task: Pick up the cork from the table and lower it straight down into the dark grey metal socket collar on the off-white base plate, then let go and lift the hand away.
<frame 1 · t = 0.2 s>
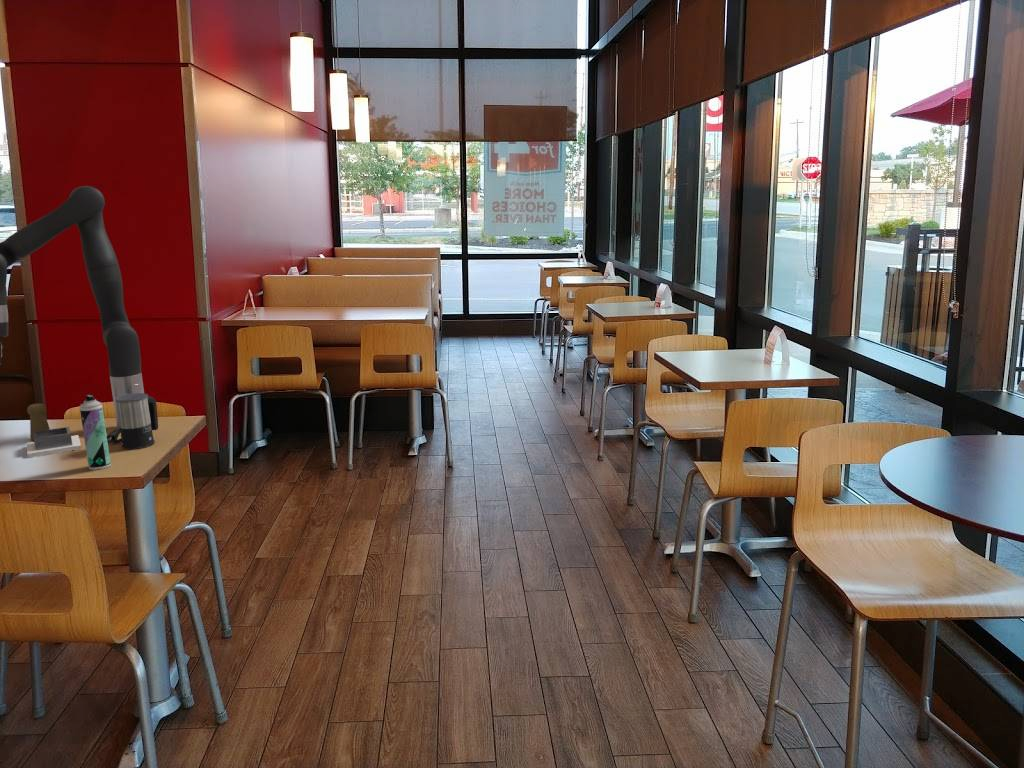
cork: (41, 439, 279), on the table
spray can: (100, 467, 247), on the table
socket collar: (52, 438, 267), on the socket base, point 3 cm above the table
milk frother: (129, 444, 269), on the table
socket base: (54, 447, 268), on the table
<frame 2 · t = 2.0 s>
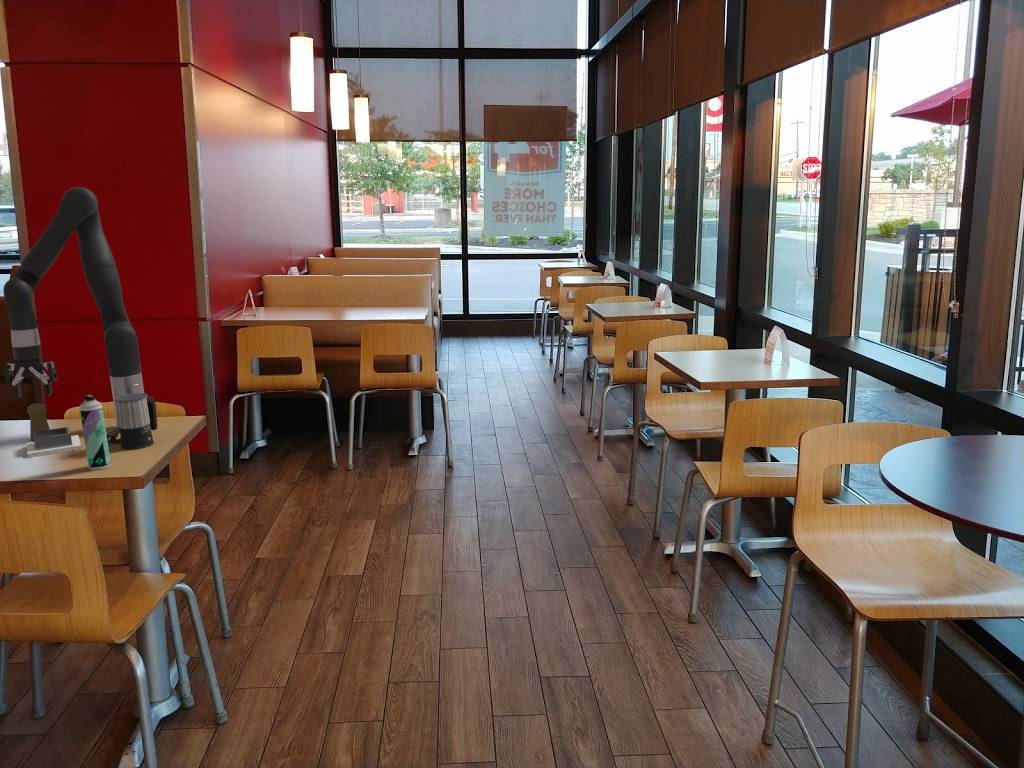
hand: (33, 396, 276), 13 cm above the table, tool pointing down, fingers open, 8 cm apart
nothing on the table moved.
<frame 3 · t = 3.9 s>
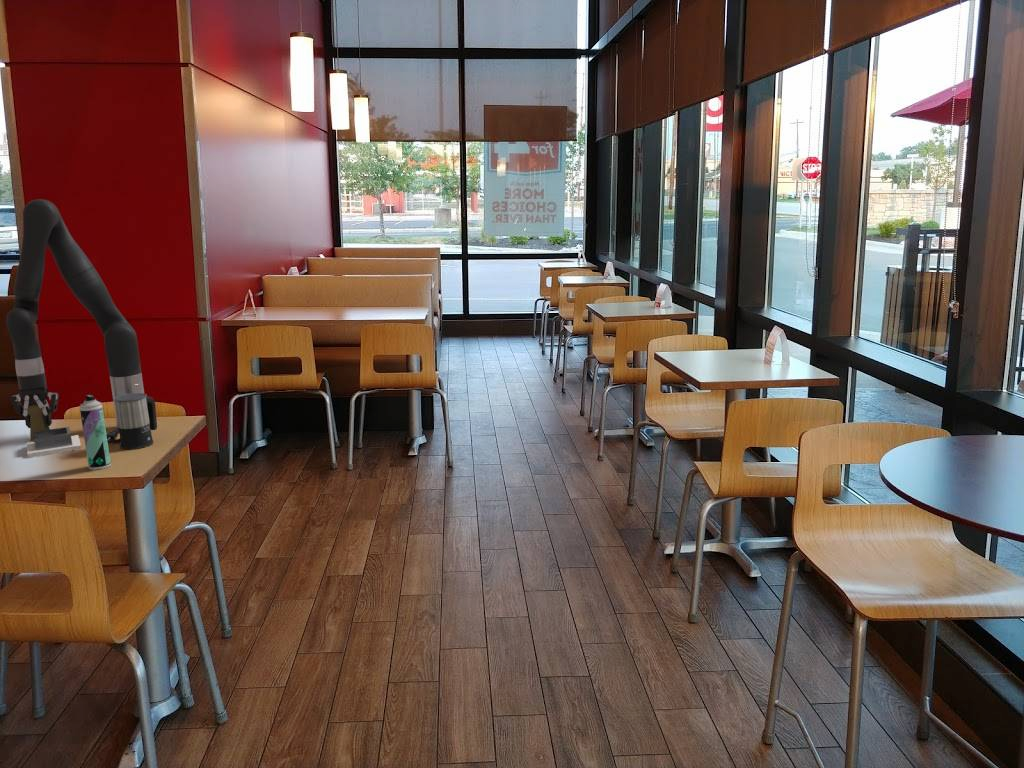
hand: (39, 426, 278), 4 cm above the table, tool pointing down, fingers closed on cork, 4 cm apart
cork: (41, 439, 279), on the table, touching gripper
everything else where it was.
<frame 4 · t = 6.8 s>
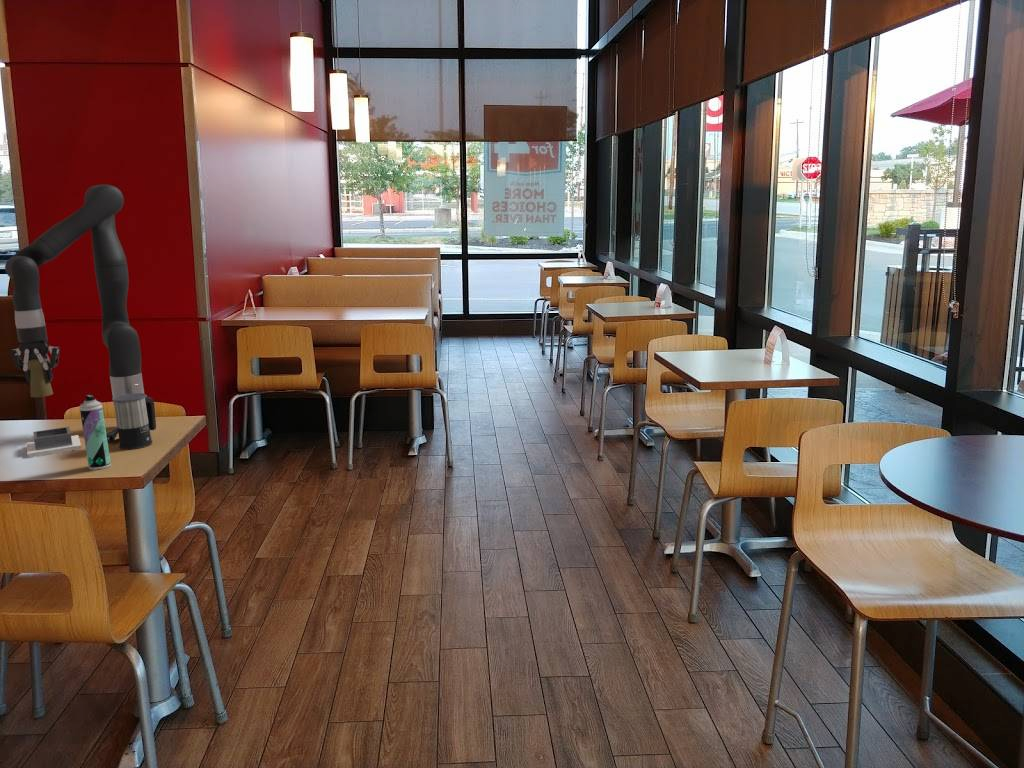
hand: (40, 382, 267), 19 cm above the table, tool pointing down, fingers closed on cork, 4 cm apart
cork: (42, 395, 268), point 15 cm above the table, touching gripper
everything else where it was.
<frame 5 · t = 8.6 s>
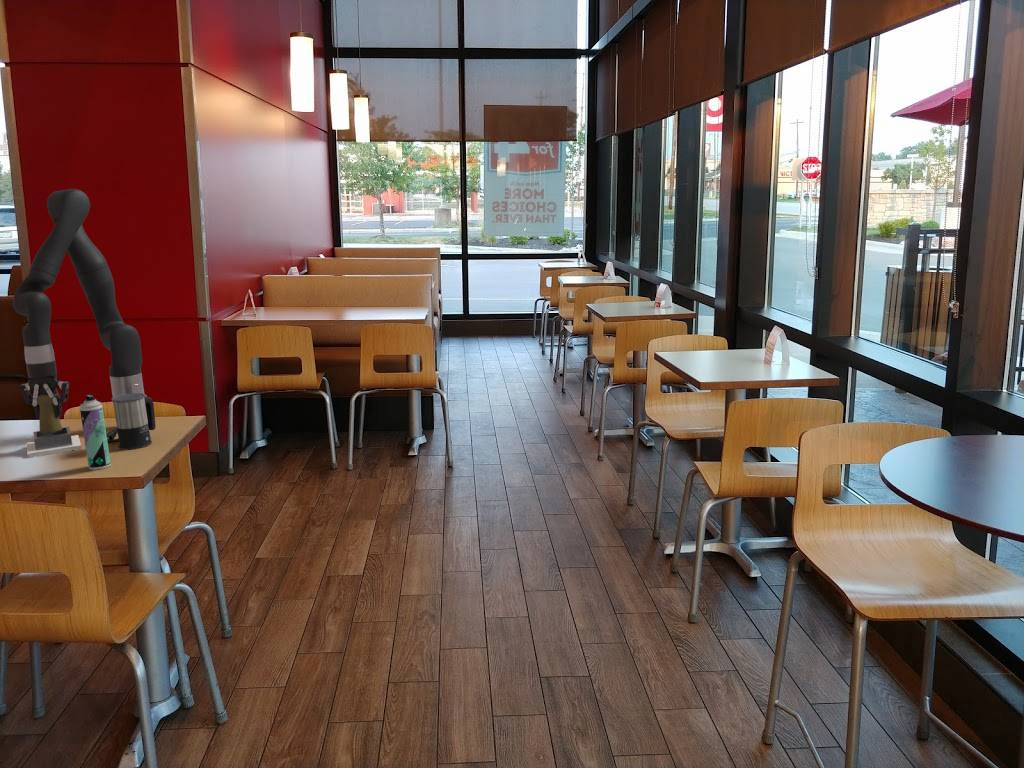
hand: (49, 417, 266), 9 cm above the table, tool pointing down, fingers closed on cork, 4 cm apart
cork: (51, 430, 267), point 5 cm above the table, touching gripper
everything else where it was.
when the fingers open (6 cm above the table, at t = 10.0 s): cork drops 1 cm, resting on socket base.
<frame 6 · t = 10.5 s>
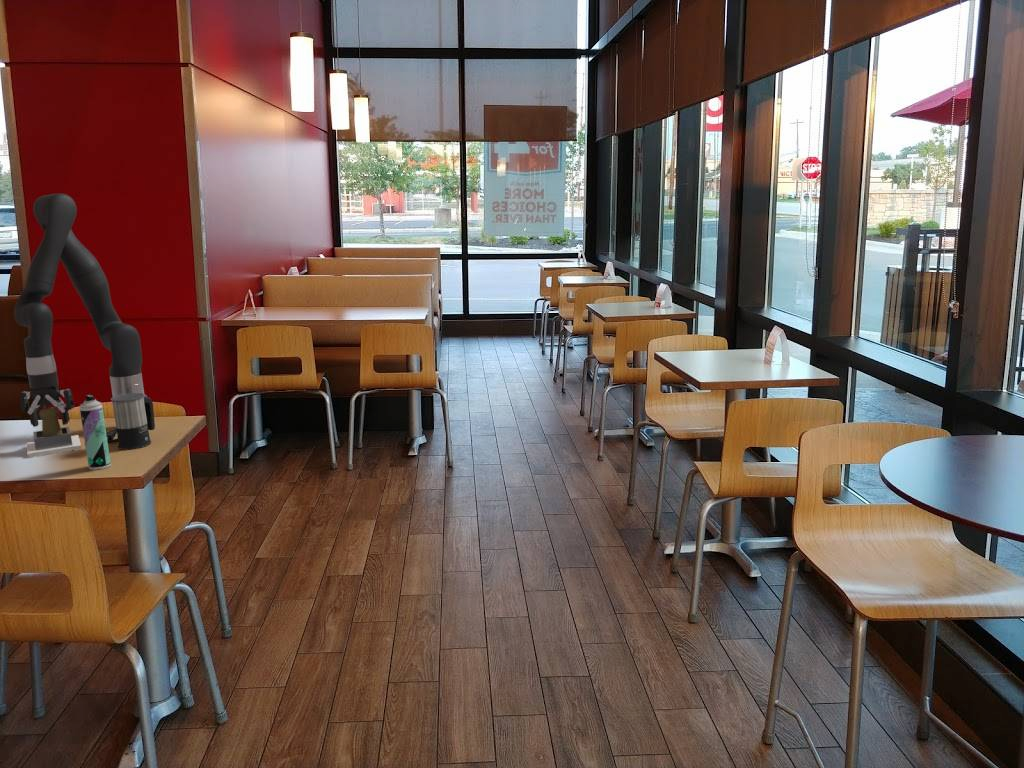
hand: (50, 425, 266), 7 cm above the table, tool pointing down, fingers open, 8 cm apart
cork: (54, 444, 268), point 1 cm above the table, touching socket base
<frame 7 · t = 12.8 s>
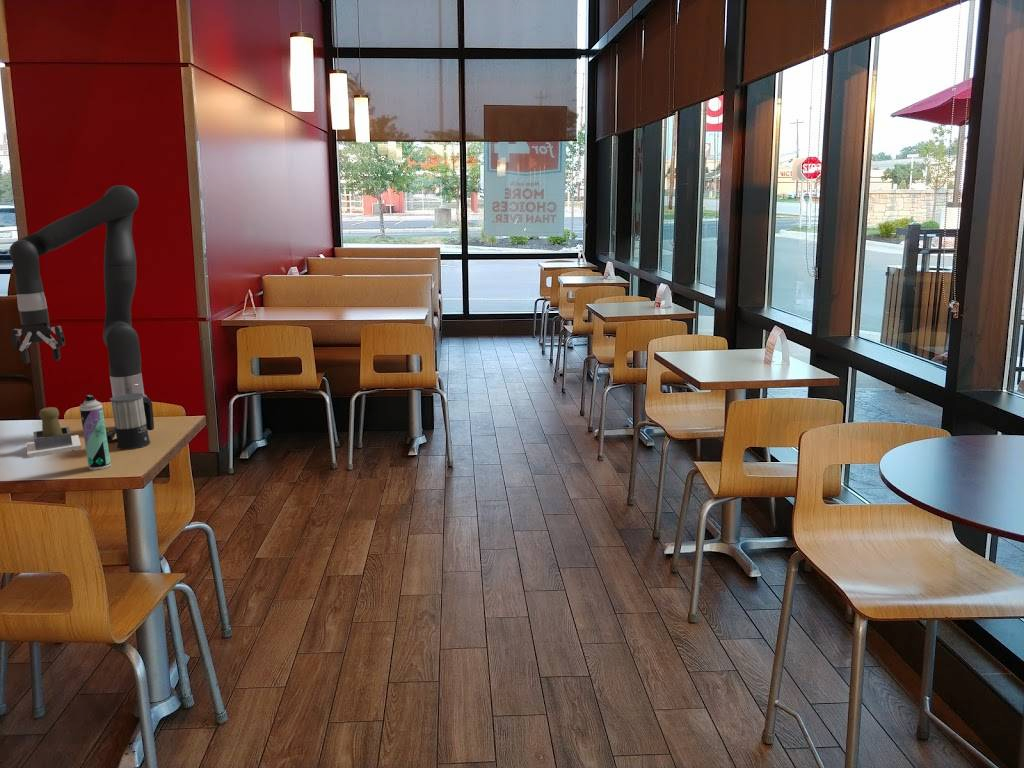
hand: (42, 361, 272), 24 cm above the table, tool pointing down, fingers open, 8 cm apart
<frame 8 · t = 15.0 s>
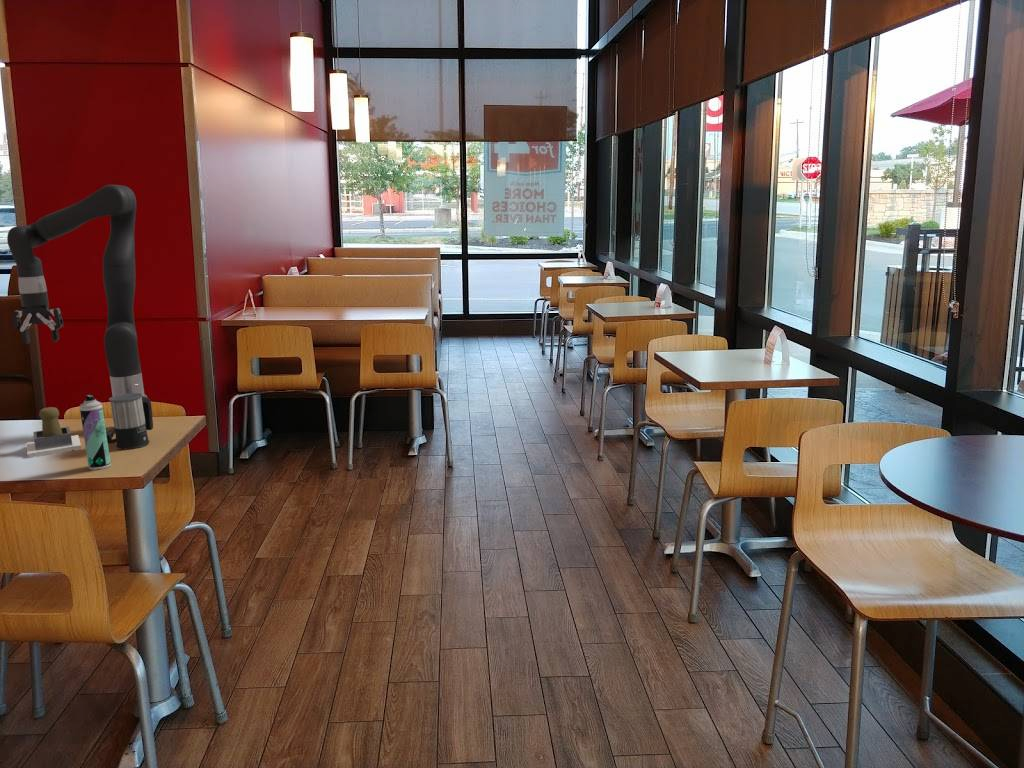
hand: (41, 342, 285), 28 cm above the table, tool pointing down, fingers open, 8 cm apart
at the end: cork 0.1 cm off-centre on the socket collar, point 1.0 cm above the socket collar's base; cork tilted 0°; the gripper is holding nothing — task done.
